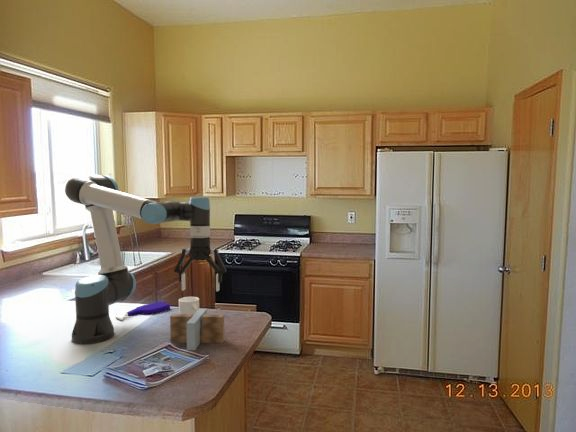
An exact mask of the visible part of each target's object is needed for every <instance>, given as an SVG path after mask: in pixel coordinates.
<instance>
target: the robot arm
mask: <svg viewBox="0 0 576 432" xmlns="http://www.w3.org/2000/svg"><path fill="white" fill-rule="evenodd" d="M64 192H65V195H66V197H67V198H68V199H69V200H70V201H71V202H73V203H77V204H80V205H84V206H85V210H87V211H89V212H90V216H91V222H92V228H93V233H94V238H95V242H96V248H97V253H98V258H99V259H98V260H99V265H100V270H98V272H97V274H95V275H93V274H92V275H88V276H85V277H82V278H81V279H79V280H77V281H76V283H75V289H74V295H75V296H74V298H75V299H74V300H75V316H76V317H75V323H74V324H73V325H74V326H73V329H72V332H71V341H72V342H73V343H75V344H81V345H82V344H83V345H85V344H86V345H88V344H96V343H97V344H98V343H101V342H105V341H107V340H110V339H111V338H112V337H115V328H114V325H113V322H112V319H111V317H110V306H111V305H114V304H116V303H119V302H122V301H125V300H127V299H129V297H131V296H132V295H133V294H134V293H135V291H136V288H137V280H136V278H135V275H133V273H132V272H130V271H129V269H128V266H126V265H125V264H124V262H123V257H122V253H121V252H122V251H121V248H120V242H119V237H118V232H117V226H116V221H115V215H114V211H115V212H116V213H117V212H118V213H121V214H125V215H128V216H132V217H134V218H138V219H142V220H143V221H144V222H145V223H147V224H149V225H159V224H164V223H171V222H179V221H180V222H184V221H186V222H189V224H190V226H189V229H190V230H189V231H190V236H191V237H190V239H189V240H190V241H189V242H190V244H189V245H190V248H187V247H185V248H182V251H181V256H180V257H179V260H178V261H177V264H175V268H174V270H173V272H174V273H177V274H178V281H179V283H181V291H182V292H184V291H185V290H186V272H185V271H186V270H187V268H188V267H189V266H190V265H191V264H192V262H193V261H198V262H199V261H206V262H207V263H208V264H209V265H210V266H211V268H213V270H214V271H215V272H216V274H215V291H216V292H219V291H220V283H222V281H223V274H225V273H227V268H226V266H225V264H224V262H223V260H222V257H221V255H220V252H219V248H215V249H211V237H210V236H211V223H210V221H211V206H210V205H211V204H210V199H209V197H207V196H190V198H189V201H174V200H171V201H165V202H163V201H162V202H159V201H156V200H152V199H148V198H144V197H141V196H137V195H134V194H131V193H130V194H129V193H127V192H122V191H119V186H118V183H117V182H116V181H115V179H114V178H112V177H111V176H109V175H105V174H91V173H90V174H87V173H86V174H85V173H78V174H74V175H72V176H70V177H69V178H68V179H67V180H66V182H65V185H64ZM188 254H189V255H191V256H190V257H189V259H188V260H187V261H186V262H185V263H184V261H185V259H186V257H187V255H188ZM211 254H212V255H213V256H214V258H215V260H216V262H217V263H216V262H215V261H214V260H213V258H212V257H211V256H210V255H211ZM183 263H184V265H183V266H182V264H183ZM217 264H218V265H217Z"/></svg>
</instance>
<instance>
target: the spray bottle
mask: <svg viewBox="0 0 576 432" xmlns="http://www.w3.org/2000/svg"><path fill="white" fill-rule="evenodd" d="M170 310H171V305H170V303H167V302H164V301H156V302H152V303H148V304H144V305H140V306H137V307H135V308H133V309H131V310H129V311H127V312H124V313H120V314H119V313H118V314H117V313H116V315H115V319H117V320H120V321H122V322H123V321H125V319H128V318H132V317H134V315H135V316H138V314H139V315H142V316H143V315H145V316H149V315H151V314H152V315H156V313H157V314H161V313H163V312H167V311H170ZM160 312H161V313H160Z"/></svg>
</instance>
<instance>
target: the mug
mask: <svg viewBox="0 0 576 432" xmlns="http://www.w3.org/2000/svg"><path fill="white" fill-rule="evenodd" d="M199 309H200V298H199V297H197V296H184V297H181V298H179V299H178V314H193V315H194V314H195V313H196V312H197V311H198V310H199Z"/></svg>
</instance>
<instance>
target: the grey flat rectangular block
mask: <svg viewBox="0 0 576 432" xmlns="http://www.w3.org/2000/svg"><path fill="white" fill-rule="evenodd" d="M204 314H208V308H199V310H198V311H197V312H196V313H195V314H194V315H193V316H192V318H191V319H190V320H189V321H188V322H187V323H186V326H187V342H186V351H196V350H197V348H198V347H199V346H200V344H201V343H200V329H201V328H202V316H203V315H204Z"/></svg>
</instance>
